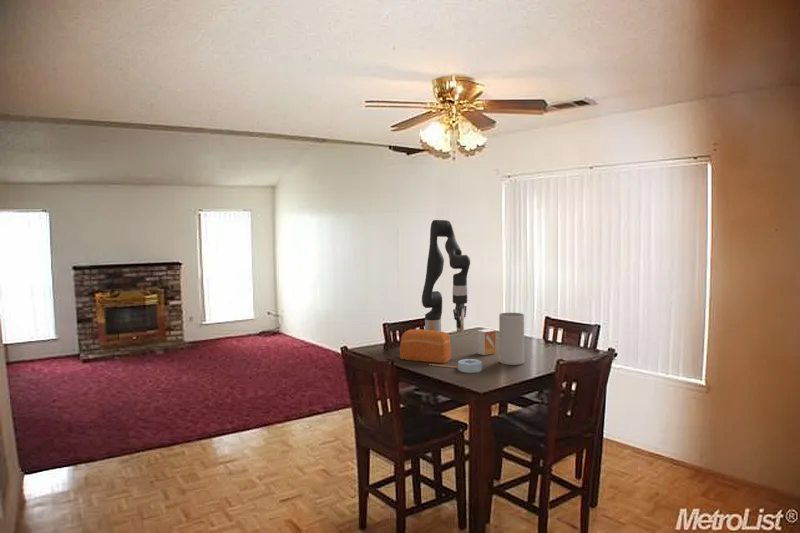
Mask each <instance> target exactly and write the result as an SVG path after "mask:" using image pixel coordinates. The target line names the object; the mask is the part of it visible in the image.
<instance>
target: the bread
mask: <svg viewBox="0 0 800 533" xmlns="http://www.w3.org/2000/svg"><path fill="white" fill-rule="evenodd" d="M451 344H452V341H451V337H450V335H449V333H447V332H445V331H441V332H439V331H434V330H425V329H416V328H415V329H408V330H406V331H404V333H403V334H402V335H401V340H400V345H399V359H400V360H404V359H405V360H406V361H413V362H414V361H416V362H427V363H433V364H435V363H437V364H442V363H443V364H445V363H447V362H449V361H450V360H451V358H452V345H451Z"/></svg>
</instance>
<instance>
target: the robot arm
mask: <svg viewBox="0 0 800 533" xmlns="http://www.w3.org/2000/svg"><path fill="white" fill-rule="evenodd" d="M445 237H446V238H447V239H446V240H445V241H446V242H445V244H444V246H445V247H444V248H445V251H446V253H447V255H448V259H449V266H450V268H452V269H453V270H459V269H460V271H459V272H457V273H454V274H453V276H452V284H453V285H452V303H453V304H454V305H455V307H454V309H452V313H453V317H454V318H453V319H454V321H456V322H455V323H456V329H457V328H461V316H462V311H463V309H464V318H466V317H467V305H465V304H467V303H468V280H467V278H468V273H469V269H470V266H471V258H470V257H469V255H467V254H463V253H462V249H461V248H460V246H459V244H458V241H457V239H456V236H455V230H454V229H453V226H452V223H451V222H450V221H449V220H446V219H433V220H432V221H431V224H430V233H429V250H428V257H427V263H426V271H425V272H426V273H425V281H424V286H423V289H422V293H421V294H422V295H421V304H422V306H423V308H425V309H430V310H429V311H428V312H426V314H424V330H434V331H439V332H442V313H443V295H442V293H441V292H440V291H438V290H437V291H434V287H435V284H436V282H437V281H438V280H439V278H440V277H441V276H442V273H443V270H444V265H445V264H444V263H445V258H444V256H443V254H442V252H441V249H440V247H439V244H438V238H445ZM459 316H460V317H459Z"/></svg>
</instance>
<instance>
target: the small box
mask: <svg viewBox="0 0 800 533" xmlns="http://www.w3.org/2000/svg"><path fill="white" fill-rule="evenodd" d="M476 338H477V339H476V340H477V345H476V346H477V354H478V355H482V356H489V355H495V354H496V330H495V329H490V328H485V329H484V328H483V329H480V330H479V329H478V330H477V336H476Z"/></svg>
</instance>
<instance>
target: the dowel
mask: <svg viewBox="0 0 800 533" xmlns="http://www.w3.org/2000/svg"><path fill="white" fill-rule="evenodd" d="M459 317H460V316H459ZM464 325H465V317H464V309H463V311H462V316H461V328H457V327H456V333H458V334H460V333H461V334H462V333H464V330H465V328H464V327H465V326H464Z"/></svg>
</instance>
